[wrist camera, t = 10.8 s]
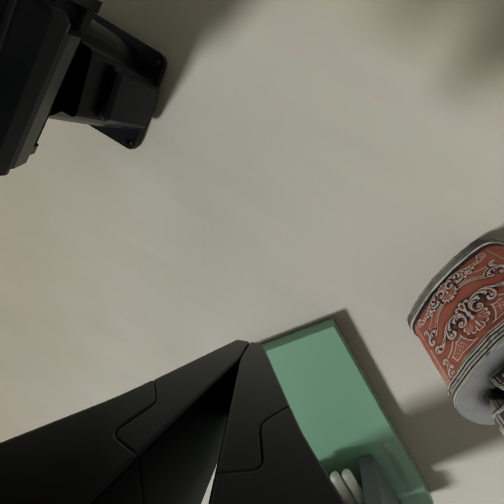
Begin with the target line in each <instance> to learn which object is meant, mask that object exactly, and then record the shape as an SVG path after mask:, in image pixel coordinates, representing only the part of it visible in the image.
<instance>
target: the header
mask: <svg viewBox="0 0 504 504" xmlns="http://www.w3.org/2000/svg"><path fill="white" fill-rule="evenodd" d="M342 477H343V479H344V481H345V482H346V484H347V486H348V487H349V489H350V490H351V492H352V494H353V495H354V497H355V498H356V500H357V502H358V503H359V504H365V500H364V493H363V491H362V489H361V487H360V486H359V484H358V482H357V481H356V479H355V478H354V476H353V474H352V473H351V471H350V470H349V469H345V470H343V472H342ZM330 479H331V481H332V482H333V484H334V486H335V487H336V489H337V490H338V492H339V494H340V495H341V497H342V498H343V500H344V502H345V503H346V504H357V502H356V500H355V499H354V497H353V496H352V494H351V492H350V491H349V489H348V488H347V486H346V484H345V483H344V481H343V479H342V478H341V476H340V475H339V473H338V472H337V471H333V472H332V473H331V474H330ZM398 502H399V504H403V503H402V501H401V500H398Z"/></svg>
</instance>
